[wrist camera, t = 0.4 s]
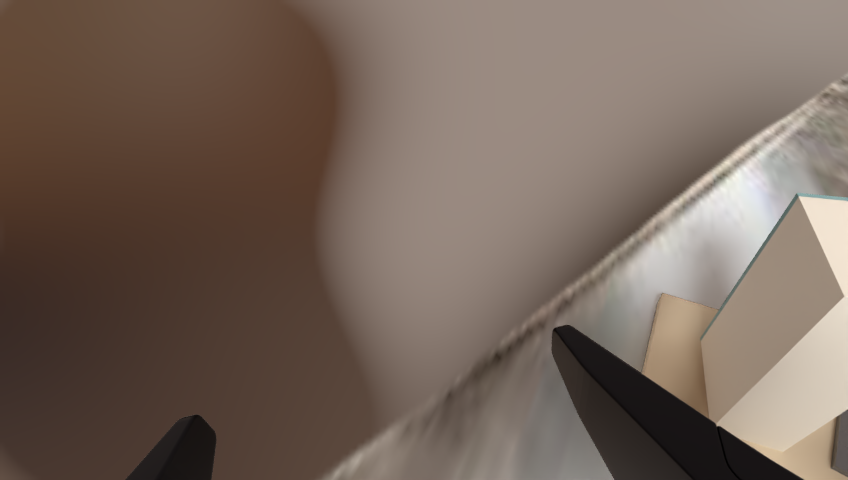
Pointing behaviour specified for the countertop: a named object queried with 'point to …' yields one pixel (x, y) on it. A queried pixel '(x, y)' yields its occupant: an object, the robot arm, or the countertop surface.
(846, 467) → the metal bookend
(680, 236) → the countertop surface
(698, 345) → the shelf plank
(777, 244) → the boxed book
